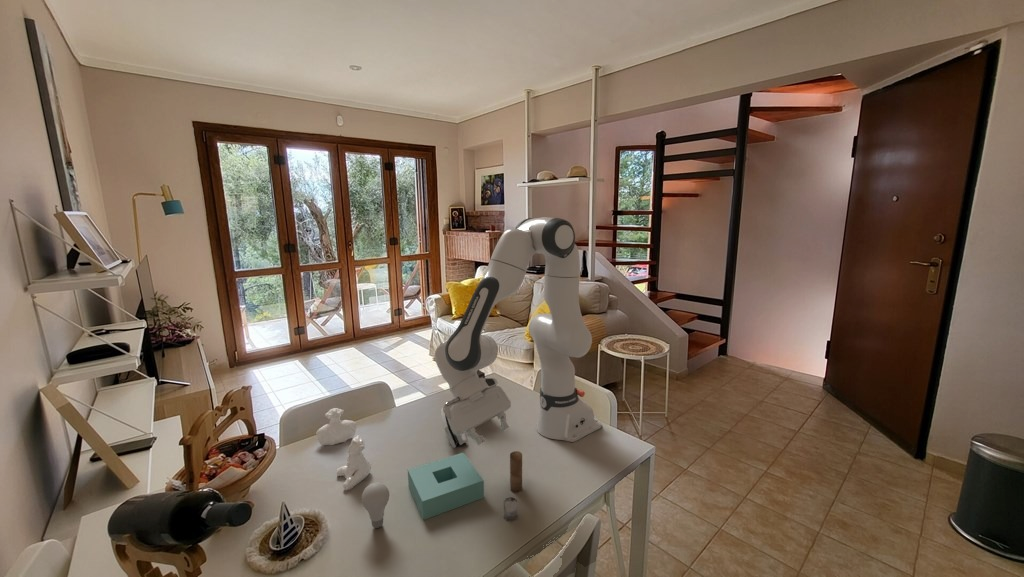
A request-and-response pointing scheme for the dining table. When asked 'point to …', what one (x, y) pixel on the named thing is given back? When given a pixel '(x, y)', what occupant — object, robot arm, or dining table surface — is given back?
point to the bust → (335, 429)
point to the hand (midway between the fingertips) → (494, 436)
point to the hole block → (445, 485)
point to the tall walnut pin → (516, 472)
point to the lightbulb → (375, 502)
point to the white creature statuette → (355, 464)
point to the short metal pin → (510, 509)
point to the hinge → (452, 438)
